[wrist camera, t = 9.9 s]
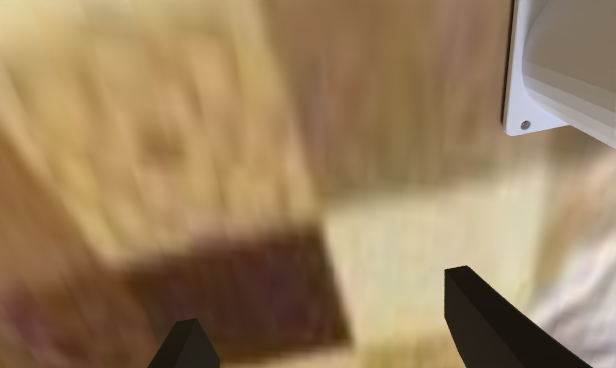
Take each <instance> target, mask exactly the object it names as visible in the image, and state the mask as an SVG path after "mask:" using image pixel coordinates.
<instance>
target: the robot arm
mask: <svg viewBox="0 0 616 368" xmlns="http://www.w3.org/2000/svg"><path fill="white" fill-rule="evenodd" d="M524 121H526V124H525V125H524V126H522V127H520V126H521V124H522V123H523V122H524ZM565 125H572V126H574V127H575V128H577V129H579V130H581V131H583V132H585V133H587V134H589V135H591V136H592V137H594V138H596V139H598V140H600V141H602V142H604V143H606V144H607V145H609V146H611V147H613V148H615V149H616V0H515V5H514V15H513V26H512V36H511V46H510V56H509V66H508V77H507V87H506V97H505V107H504V118H503V131H504V132H505V133H506V134H508V135H510V136H515V135H520V134H525V133H530V132H535V131H540V130H545V129H550V128H555V127H560V126H565ZM444 317H445V320H446V322H447V325H448V327H449V330H450V332H451V335H452V337H453V340H454V342H455V345H456V347H457V350H458V352H459V354H460V356H461V358H462V360H463V362H464V364H465V366H466V368H593V367H591V366H590V365H588V364H587V363H586V362H584V361H583V360H582V359H580V358H579V357H578V356H576V355H575V354H573V353H572V352H571V351H569V350H568V349H567V348H565V347H564V346H563V345H561V344H560V343H559V342H557V341H556V340H555V339H554V338H552V337H551V336H550V335H548V334H547V333H546V332H545V331H543V330H542V329H541V328H540V327H538V326H537V325H536V324H535V323H533V322H532V321H531V320H530V319H529V318H527V317H526V316H525V315H524V314H522V313H521V312H520V311H519V310H518V309H516V308H515V307H514V306H513V305H512V304H510V303H509V302H508V301H507V300H506V299H505V298H503V297H502V296H501V295H500V294H499V293H498V292H497V291H495V290H494V289H493V288H492V287H491V286H490V285H489V284H487V283H486V282H485V281H484V280H483V279H482V278H481V277H480V276H479V275H477V274H476V273H475V272H474V271H473V270H472V269H471V268H470V267H468V266H467V265H466V266H461V267H455V268H450V269H445V296H444ZM148 368H220V359H219V357H218V355H217V353H216V352H215V350H214V348H213V346H212V344H211V343H210V341H209V339H208V337H207V335H206V334H205V332H204V330H203V328H202V327H201V325H200V323H199V321H198V319H197V318H194V319H189V320H184V321H179V322H176V324H175V325H174V327H173V328H172V330H171V331H170V333H169V334H168V336H167V337H166V339H165V341H164V342H163V344H162V345H161V347H160V349H159V350H158V352H157V353H156V355H155V357H154V358H153V360H152V361H151V363H150V364H149V366H148Z"/></svg>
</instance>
